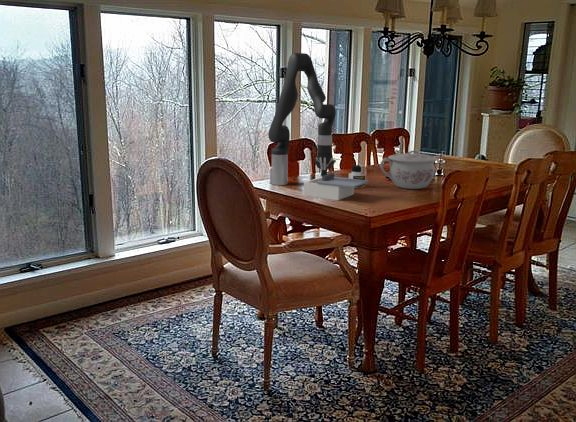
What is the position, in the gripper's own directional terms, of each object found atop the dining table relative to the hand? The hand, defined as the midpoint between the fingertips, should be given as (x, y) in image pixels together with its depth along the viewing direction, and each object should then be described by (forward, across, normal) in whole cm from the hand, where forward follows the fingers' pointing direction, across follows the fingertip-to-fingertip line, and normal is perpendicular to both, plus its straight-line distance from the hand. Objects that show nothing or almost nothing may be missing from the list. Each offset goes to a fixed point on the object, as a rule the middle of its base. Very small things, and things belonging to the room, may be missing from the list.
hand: (324, 177), depth 290 cm
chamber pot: (+9, +31, +45) cm, 56 cm away
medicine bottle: (+9, +5, +29) cm, 31 cm away
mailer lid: (+2, +11, 0) cm, 11 cm away
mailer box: (+9, +3, 0) cm, 10 cm away
